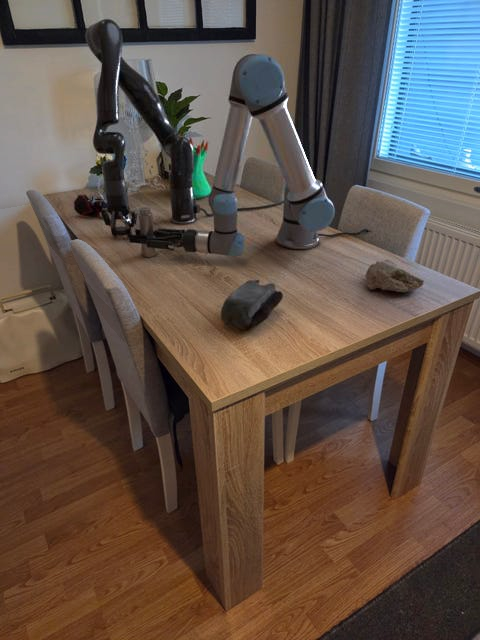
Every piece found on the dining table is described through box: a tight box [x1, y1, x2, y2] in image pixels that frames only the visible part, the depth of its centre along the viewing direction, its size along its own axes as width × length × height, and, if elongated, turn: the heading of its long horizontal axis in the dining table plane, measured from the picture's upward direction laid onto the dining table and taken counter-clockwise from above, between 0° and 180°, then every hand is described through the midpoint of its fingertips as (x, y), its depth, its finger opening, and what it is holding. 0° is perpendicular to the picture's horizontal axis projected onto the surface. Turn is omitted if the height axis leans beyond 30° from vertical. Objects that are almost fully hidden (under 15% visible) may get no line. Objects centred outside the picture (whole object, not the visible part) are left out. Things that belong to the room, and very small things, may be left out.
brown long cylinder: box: [138, 206, 157, 258], centre depth 151 cm, size 4×4×16 cm
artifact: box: [365, 259, 424, 293], centre depth 134 cm, size 18×8×15 cm
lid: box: [115, 225, 127, 237], centre depth 167 cm, size 5×5×2 cm
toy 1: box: [73, 194, 108, 220], centre depth 187 cm, size 12×9×15 cm
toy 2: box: [168, 137, 212, 200], centre depth 210 cm, size 20×20×25 cm
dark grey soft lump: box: [220, 279, 284, 332], centre depth 117 cm, size 18×11×8 cm, turn 152°
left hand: (122, 236), depth 168 cm, fingers closed on lid, 5 cm apart
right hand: (132, 235), depth 153 cm, fingers closed on brown long cylinder, 4 cm apart
